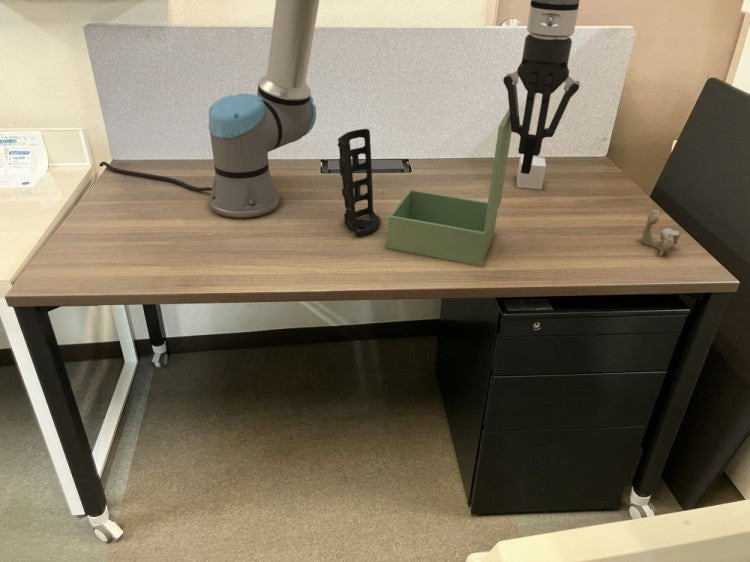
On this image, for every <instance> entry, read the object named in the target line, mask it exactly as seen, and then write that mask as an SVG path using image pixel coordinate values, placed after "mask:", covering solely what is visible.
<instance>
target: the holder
mask: <svg viewBox="0 0 750 562" xmlns="http://www.w3.org/2000/svg"><path fill="white" fill-rule="evenodd" d="M358 138H362V139H363V140H364V145H363V146H361V147H356V148H353V149H352V148H351V142H350V141H351V140H353V139H358ZM337 142H338V143H337V144H336V145H337V147H338V150H339V158H338V163H339V174H340V176H341V180H342V188H341V194H342V197H343V200H344V208H345V213H343V217H344V225H345V226H346V227H347V229H348V231H350V232H352V233H353V234H354V235H355V237H357V238H362V237H365V236H367V235H370V234H371V233H373V232H374V231H376V230H377V229H378V228H380V225H381V218H380V217H379V216H378V215H377V214H376V213H375V212H374V191H373V190H374V189H373V169H372V148H371V132H370V129H369V128H360V129H355V130H351V131H348V132H346V133H344V134H342V135H341V136H340V137H338V138H337ZM359 155H364V156H365V162H363V163H360V160H359ZM359 171H365V174H366V177H365V178H361V179H357V180H354V178H353V174H354V173H355V172H359ZM362 186H366V193H363V194H362V192H361V187H362ZM362 201H366V202H367V206H366V208H361V209H358V210H356V204H357V203H359V202H362ZM364 216H369V218H370V219H358V218H360V217H364ZM358 228H359V229H361V230H358Z"/></svg>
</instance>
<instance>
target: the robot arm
mask: <svg viewBox="0 0 750 562" xmlns="http://www.w3.org/2000/svg"><path fill="white" fill-rule="evenodd" d="M319 5H320V0H275V5H274V11H273V12H274V13H273V22H272V30H271V37H270V46H269V54H268V61H267V68H266V74H265V75H263V76H262V77H260V78H259V80H258V85H257V92H256V94H252V93H237V94H236V95H235V94H231V95H226V96H224V97H221V98H219V99H217V100H215V101H214V102H213V103H212V104H211V106H210V107H209V109H208V130H209V135H210V142H211V143H210V144H211V151H212V157H213V164H214V178H213V182H212V186H211V187H210V186H209V187H208V186H207V187H206V186H205V187H198V186H193V185H191V184H188V183H186V182H183V181H181V180H179V179H176V178H172V177H168V176H164V175H157V174H153V173H152V174H151V173H145V172H139V171H134V170H128V169H123V168H119V167H118V168H117V167H114V166H113V165H111V164H109V163H108V162H107V161H101V162H100V163H99V165H98V166H99V167H104V166H105V167H106V168H107V169H109V170H111V171H113V172H115V173H121V174H125V175H126V174H127V175H130V176H131V175H132V176H137V177H143V178H149V179H155V180H161V181H167V182H171V183H173V184H177V185H179V186H182V187H183V188H186V189H189V190H192V191H195V192H210V198H209V203H210V209H211V210H212V211H213V213H215V214H217V215H219V216H222V217H226V218H230V219H253V218H258V217H261V216H262V217H263V216H266V215H268V214H270V213H272V212H274V211H275V210H276V209H277V208H278V207H279V205H280V194H279V192H278V189H277V187H276V184H275V182H274V180H273V177H272V174H271V172H270V165H269V152H272V151H274V150H276V149H279V148H281V147H283V146H286V145H288V144H291V143H295V142H297V141H299V140H301V139H302V138H304V137H305V136H306V135H308V134H309V133H311V131H312V130H313V128H314V125H315V123H316V120H317V106H316V105H315V104H314V98H313V96H312V95H311V94H312V90H311V88H310V86H309V85H308V83H307V76H308V70H309V64H310V60H311V59H310V58H311V52H312V47H313V40H314V35H315V30H316V29H315V28H316V23H317V17H318V11H319ZM579 6H580V0H530V5H529V12H528V19H527V24H526V31H527V33H528V34H527V35H526V36H525V38H524V45H523V50H522V57H521V58H522V59H521V62H520V64H519V66H518V67H517V69H516V70H515V71H513V72H511V73H506V74H505V76H504V77H503V79H502V81H503V85H504V86H505V88H506V91H507V99H508V100H507V101H508V110H509V111H510V122H511V131H512V133H513V134H514V133H516V134H517V135H519V138H520V139H519V143H518V148H517V149H518V151H517V152H518V155H519V154H520V155H523V156H524V157H523V163H522V169H521V173H524V174H529V173H530V170H531V165H532V160H533V157H539V156H540V153H541V150H542V144H543V139H545V138H553V136H554V135H555V133H556V131H557V129H558V126H559V124H560V122H561V119H562V117H563V115H564V113H565V112H566V109H567V107H568V105H569V102H570V100H571V98H572V97H573V96H574V95H575V94H576V93H577V92H578V91H579V90H580V86H581V83H580V81H579V80H575V79H574V78H573V77H571V75H570V70H569V67H568V66H569V60H570V54H571V49H572V45H573V40H572V38H571V36H573V35H574V34H575V29H576V23H577V19H578V13H579ZM519 79H520V81H521V83H522V85H523V87H524V89H525V90H526V91H527V92H526V99H525V106H524V112H523V113H524V114H523V117H522V123H520V110H519V109H520V107H519V98H518V96H519V95H518V87H517V85H518V83H519ZM563 83H564V86H563V90H564V93H563V95H562V97H561V99H560V101H559V103H558V106H557V108H556V109H555V112H554V115H553V117H552V119H551V121H550V123H549V126H548V127H546V124H547V118H548V112H549V107H550V101H551V96H552V94H553V93H555V92H556V91H557V89H559V88H560V86H562V85H563ZM537 94H541V95H542V96H541V102H540V109H539V113H538V119H537V125H536V130H535V131H536V132H535V134H532V133H530V130H531V124H532V118H533V113H534V112H533V111H534V105H535V100H536V95H537Z"/></svg>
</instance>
